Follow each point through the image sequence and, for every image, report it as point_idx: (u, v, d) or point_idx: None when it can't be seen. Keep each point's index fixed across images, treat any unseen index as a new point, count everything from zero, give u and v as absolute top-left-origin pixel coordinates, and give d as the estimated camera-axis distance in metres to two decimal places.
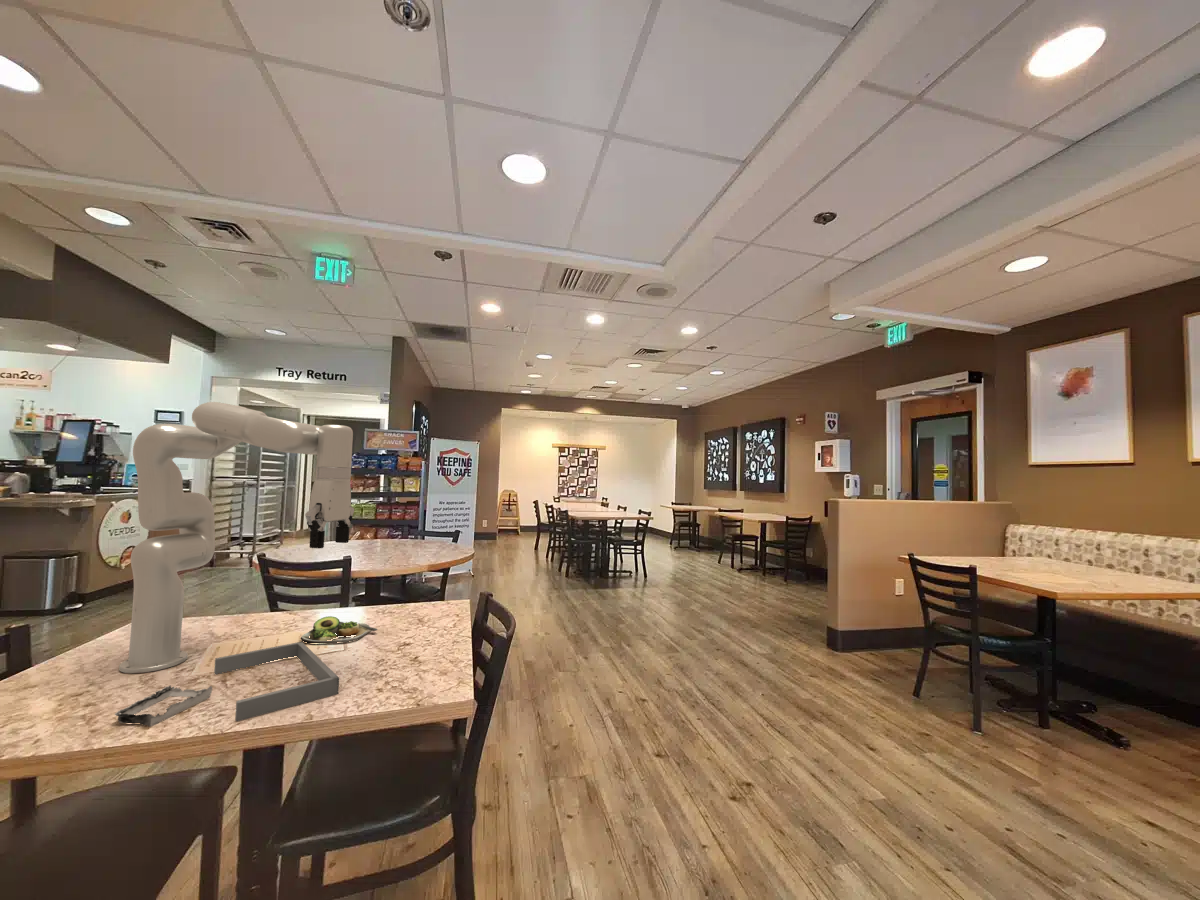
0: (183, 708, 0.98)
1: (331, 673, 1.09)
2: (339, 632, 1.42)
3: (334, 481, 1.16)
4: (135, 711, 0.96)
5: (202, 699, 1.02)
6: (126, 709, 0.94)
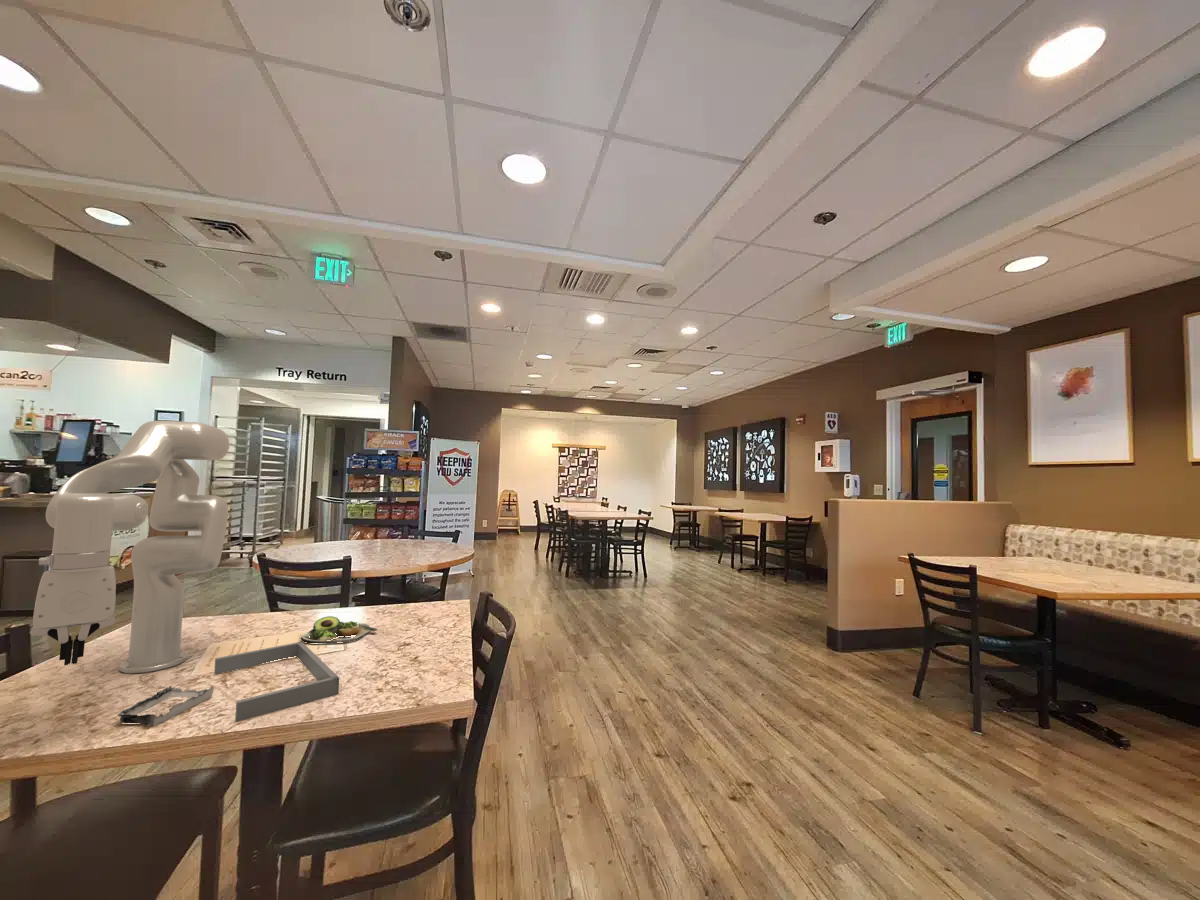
0: (185, 708, 0.98)
1: (331, 673, 1.09)
2: (339, 632, 1.42)
3: None
4: (137, 712, 0.96)
5: (203, 699, 1.02)
6: (128, 710, 0.94)
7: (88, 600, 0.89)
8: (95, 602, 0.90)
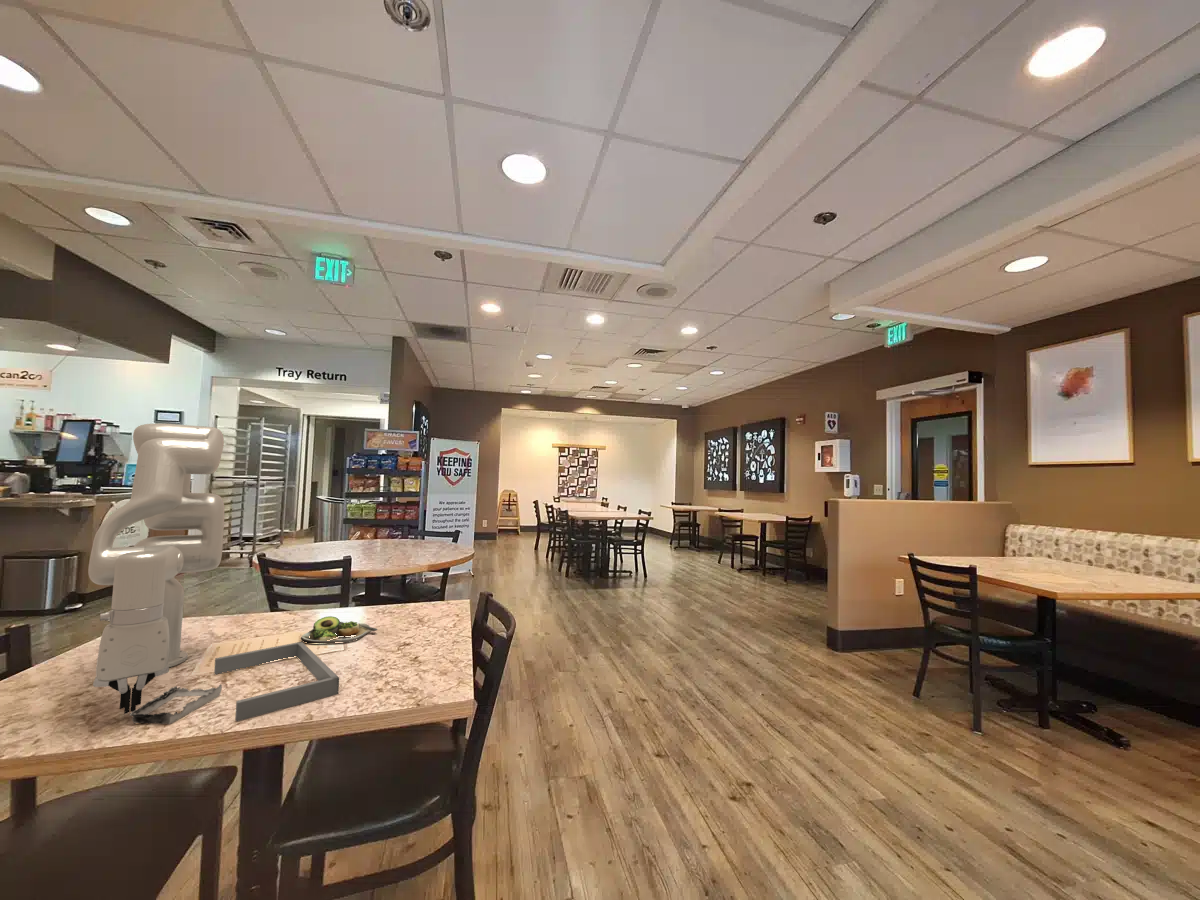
0: (197, 706, 0.99)
1: (331, 673, 1.09)
2: (339, 632, 1.42)
3: None
4: (147, 712, 0.96)
5: (213, 697, 1.03)
6: (139, 710, 0.94)
7: (145, 652, 0.94)
8: (151, 654, 0.95)
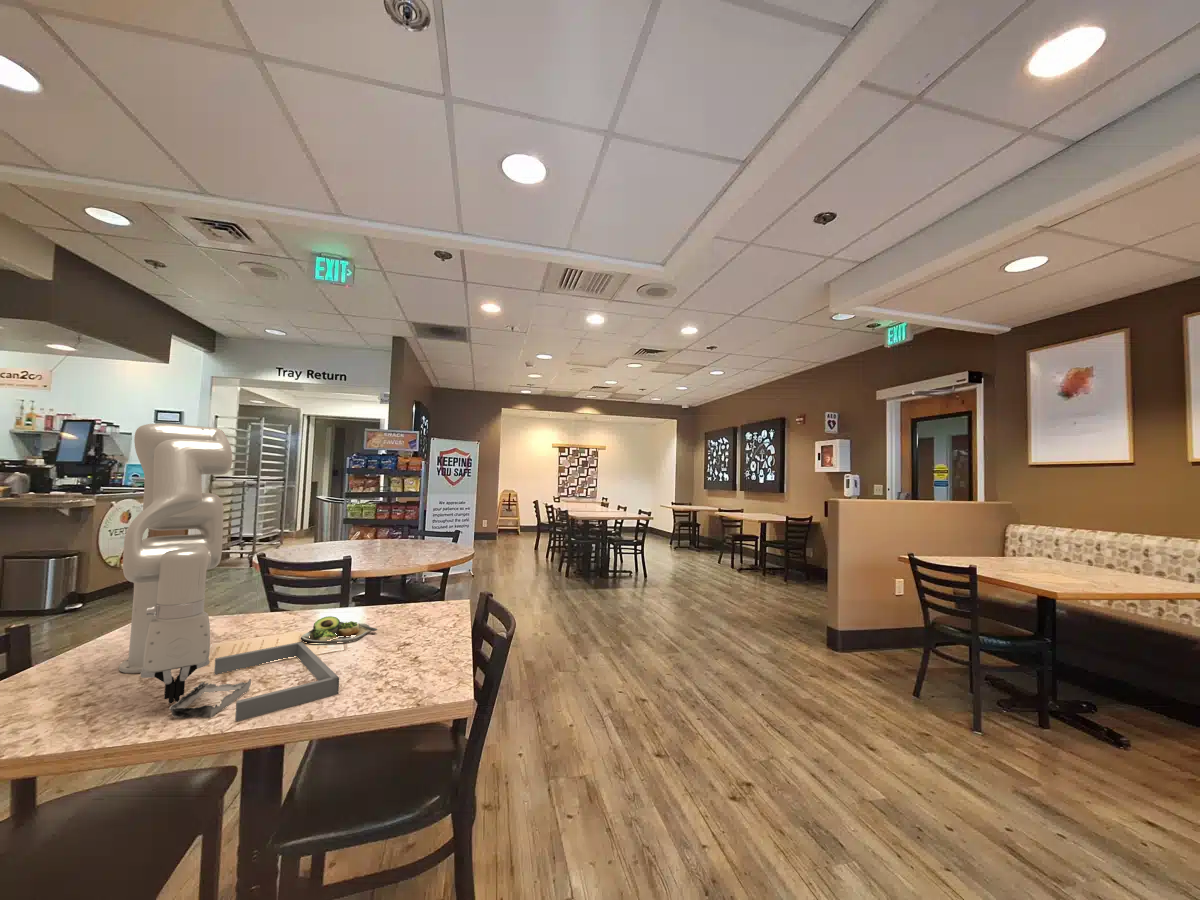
0: (232, 700, 1.02)
1: (331, 673, 1.09)
2: (339, 632, 1.42)
3: None
4: (182, 706, 0.98)
5: (244, 691, 1.06)
6: (176, 704, 0.96)
7: (188, 645, 0.99)
8: (194, 647, 0.99)
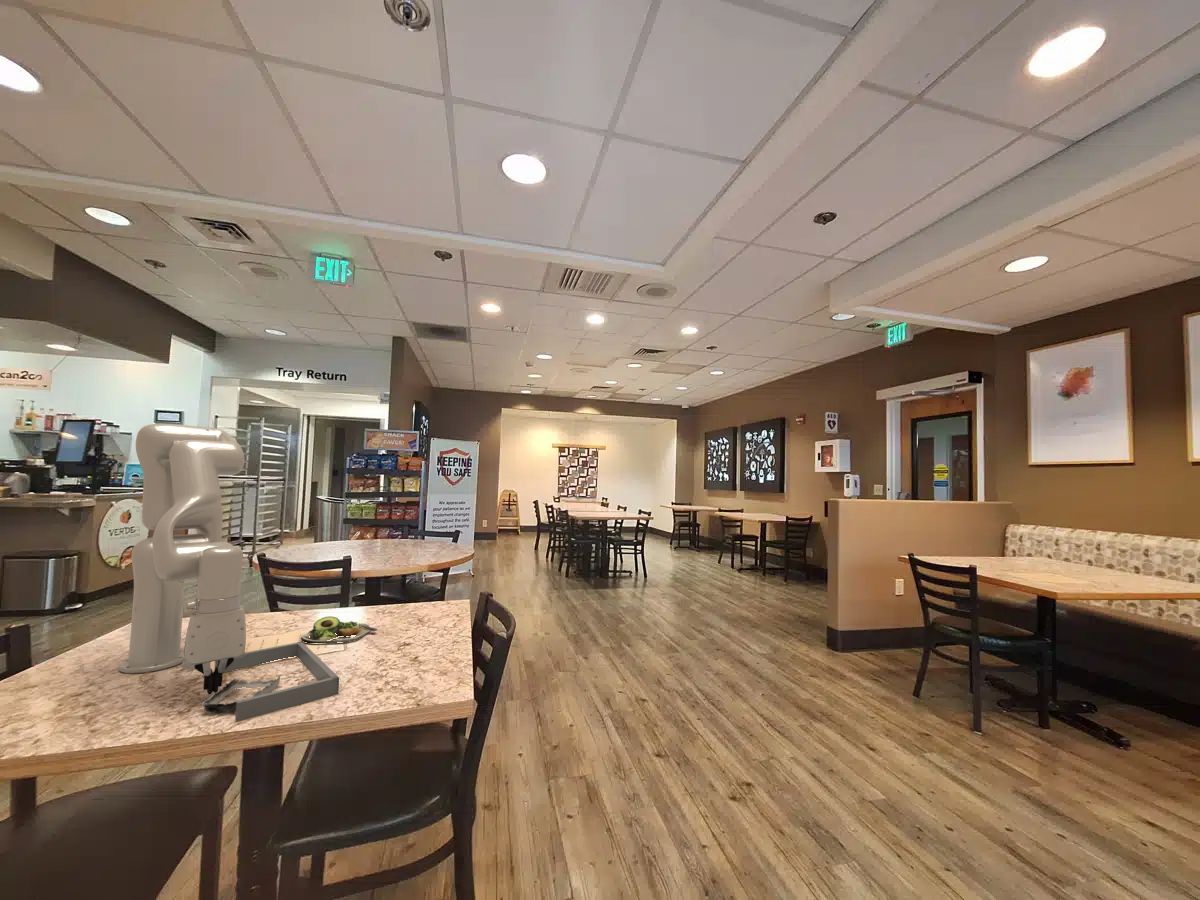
0: None
1: (331, 673, 1.09)
2: (339, 632, 1.42)
3: None
4: (214, 702, 1.00)
5: (273, 688, 1.07)
6: (209, 700, 0.98)
7: (226, 638, 1.03)
8: (231, 640, 1.04)
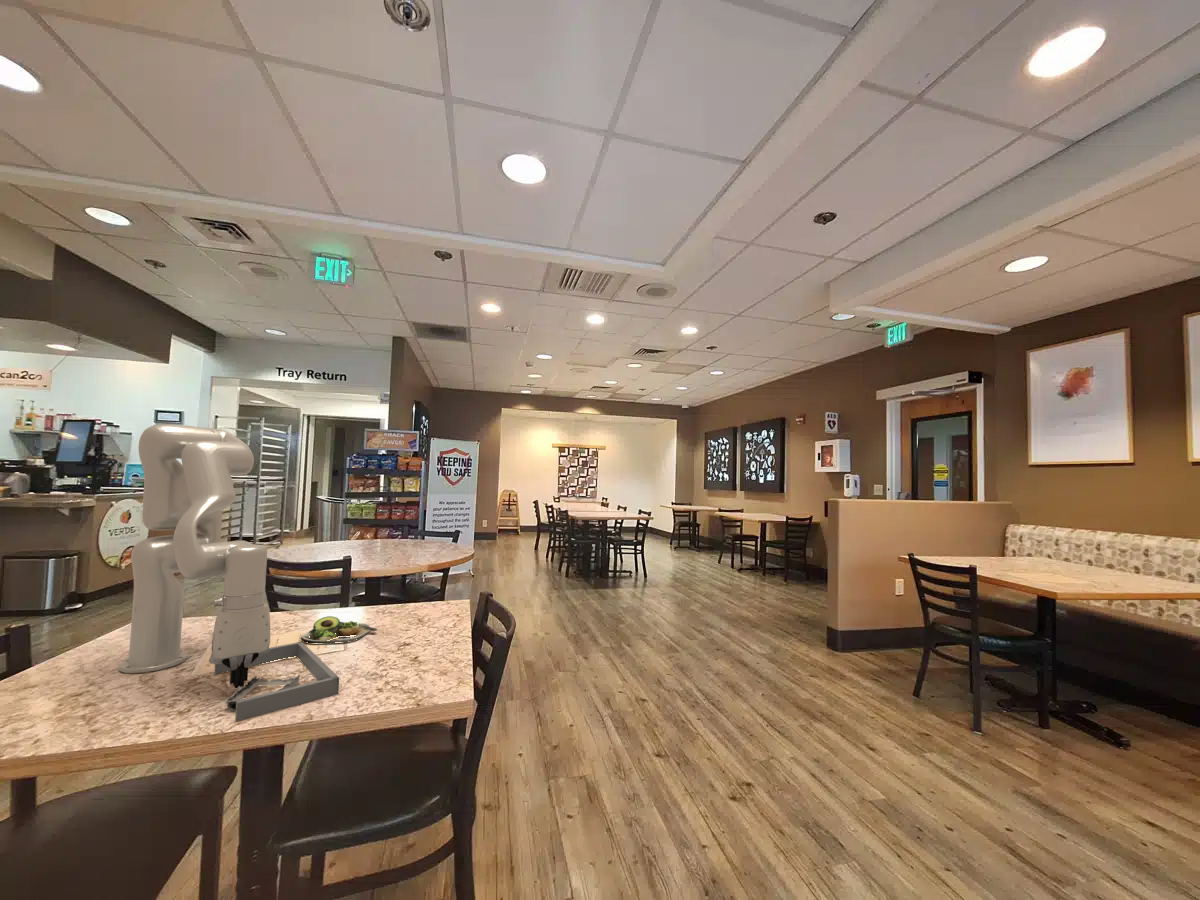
0: None
1: (331, 673, 1.09)
2: (339, 632, 1.43)
3: None
4: (237, 700, 1.02)
5: (293, 686, 1.09)
6: (231, 697, 1.00)
7: (252, 634, 1.06)
8: (257, 635, 1.07)
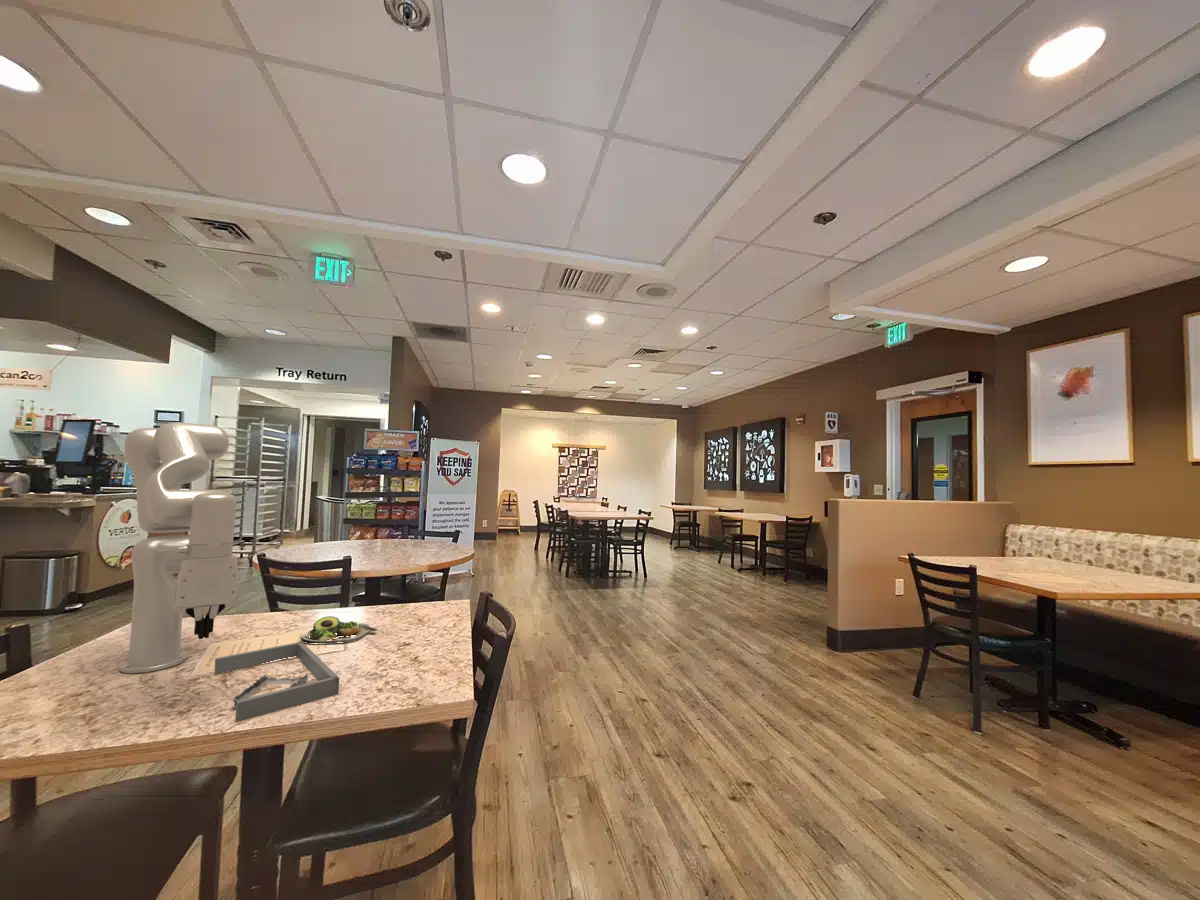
0: None
1: (331, 673, 1.09)
2: (339, 632, 1.42)
3: None
4: (245, 698, 1.03)
5: None
6: (239, 696, 1.01)
7: (218, 584, 1.03)
8: (223, 586, 1.03)
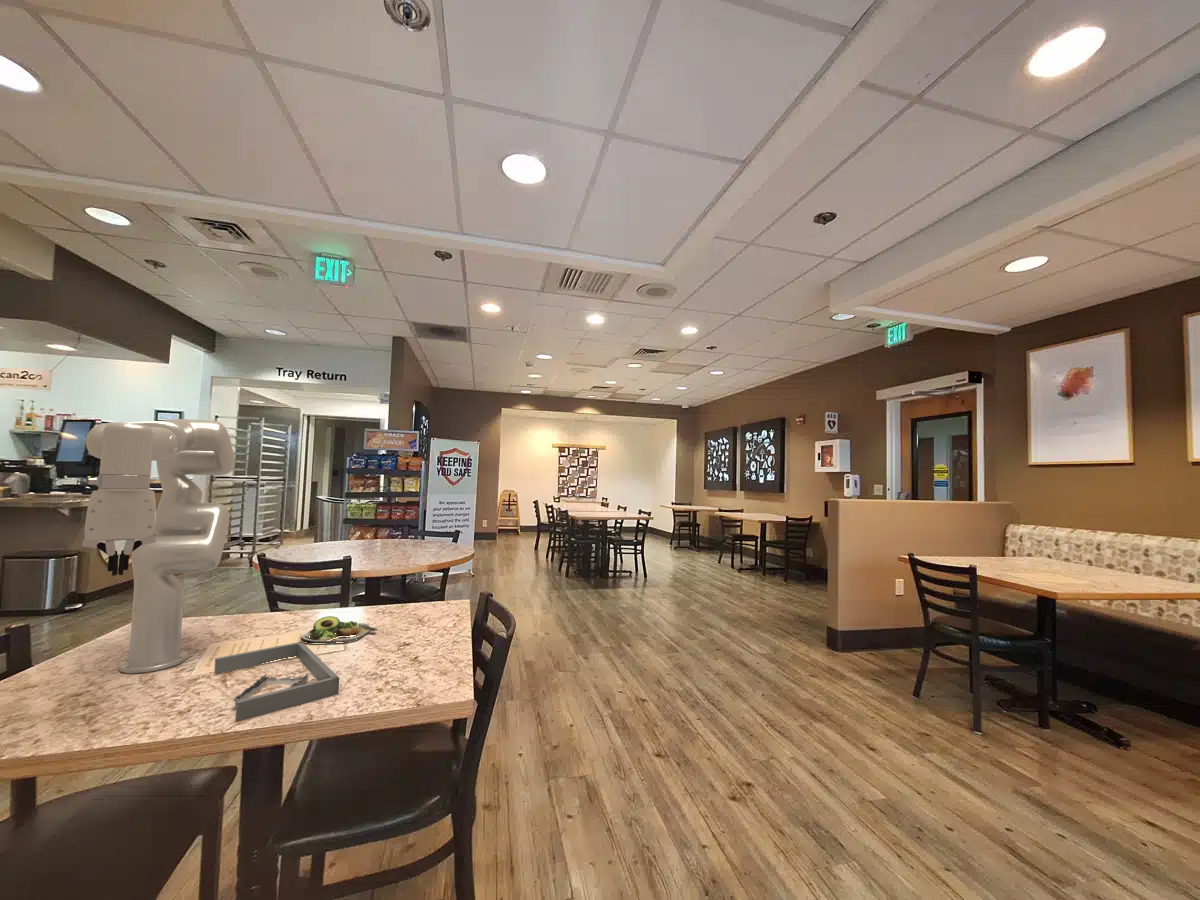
0: None
1: (331, 673, 1.09)
2: (339, 632, 1.43)
3: None
4: (245, 698, 1.03)
5: None
6: (240, 696, 1.01)
7: (132, 518, 0.98)
8: (138, 520, 0.98)
